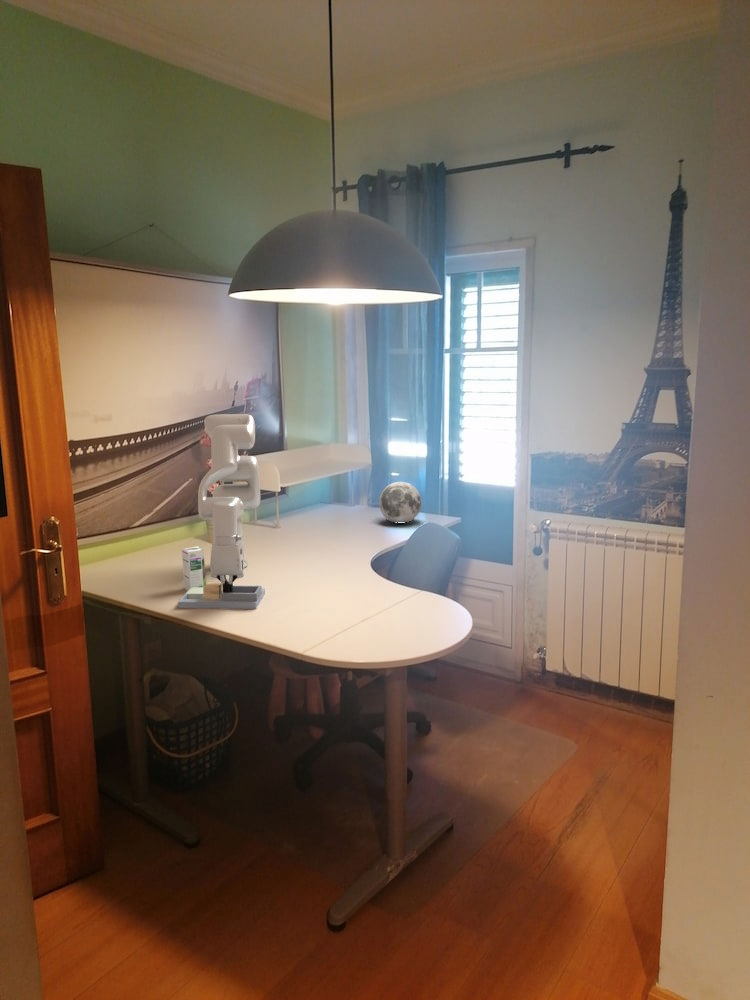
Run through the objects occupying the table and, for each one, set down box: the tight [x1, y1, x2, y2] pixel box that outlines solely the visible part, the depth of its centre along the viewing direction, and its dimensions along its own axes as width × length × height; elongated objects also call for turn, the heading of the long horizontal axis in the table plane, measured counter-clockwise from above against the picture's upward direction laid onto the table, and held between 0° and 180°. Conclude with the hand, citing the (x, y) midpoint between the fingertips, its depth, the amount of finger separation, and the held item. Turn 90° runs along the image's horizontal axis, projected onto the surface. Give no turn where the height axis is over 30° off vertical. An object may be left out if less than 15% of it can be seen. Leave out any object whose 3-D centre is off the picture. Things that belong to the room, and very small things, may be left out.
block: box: [203, 582, 223, 600], centre depth 238 cm, size 5×5×4 cm
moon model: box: [378, 481, 422, 524], centre depth 348 cm, size 20×20×20 cm
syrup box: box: [181, 545, 207, 592], centre depth 251 cm, size 6×6×14 cm
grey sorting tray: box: [177, 585, 266, 610], centre depth 240 cm, size 15×25×4 cm, turn 88°
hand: (228, 594), depth 238 cm, fingers closed
